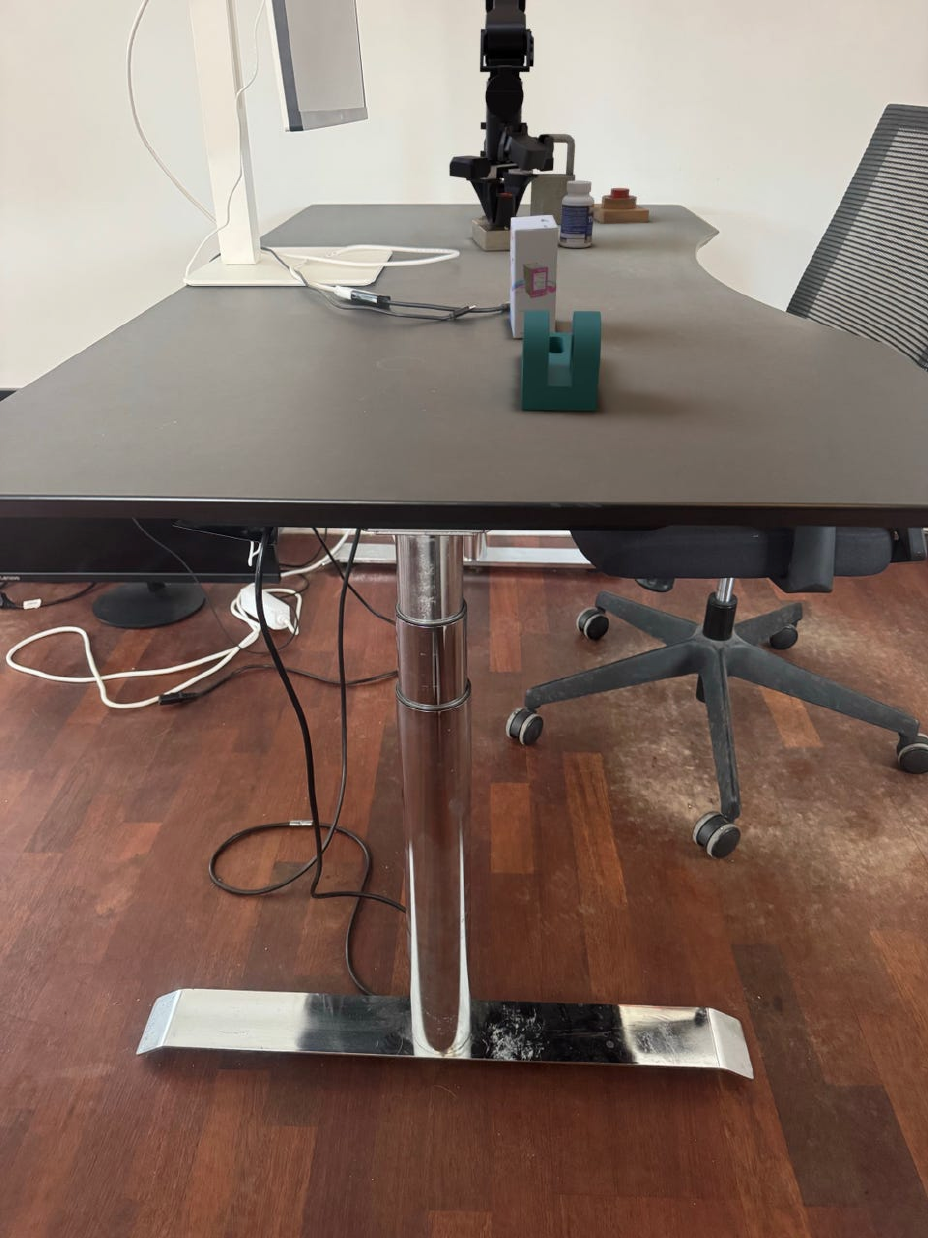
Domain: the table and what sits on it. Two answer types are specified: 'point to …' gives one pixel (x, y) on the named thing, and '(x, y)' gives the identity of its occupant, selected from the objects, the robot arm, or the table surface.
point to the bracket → (560, 362)
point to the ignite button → (619, 193)
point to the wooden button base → (620, 210)
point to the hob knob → (504, 209)
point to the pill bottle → (577, 215)
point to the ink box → (532, 268)
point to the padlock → (553, 185)
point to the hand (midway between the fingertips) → (501, 221)
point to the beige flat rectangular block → (491, 235)
